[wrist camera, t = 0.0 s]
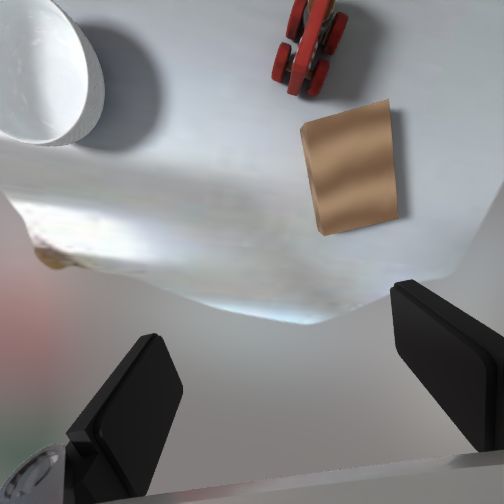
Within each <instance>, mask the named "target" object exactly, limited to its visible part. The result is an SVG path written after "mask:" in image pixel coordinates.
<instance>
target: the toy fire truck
mask: <svg viewBox="0 0 504 504" xmlns="http://www.w3.org/2000/svg"><path fill="white" fill-rule="evenodd" d="M334 7H335V0H309V3H308V0H295V2H294V5H293V8H292V12H291V15H290V19H289V23H288V27H287V31H286V37H287V38H289V39H291V40H296V39H297V37H298V35H299V32H300V29H301V27H303V28H305V30H304V33H303V36H302V37H301V40H300V43H299V45H298V48H297V52H296V55H295V58H294V61H293V63H292V62H289V58H290V54H291V45H289V44H287V43H283V42H282V43H281V44H280V46H279V49H278V52H277V55H276V59H275V62H274V66H273V71H272V79H273V80H274V81H277V82H281V81H282V80H283V77H284V74H285V71H286V70H287V71H289V72H291V75H290V81H289V86H288V90H287V93H288V94H291V95H294V96H297V95H298V94H299V91H300V88H301V85H302V82H303V80H304V78H307V79H309V80H310V83H309V86H308V89H307V93H308V94H309V95H312V96H317V95H318V93H319V91H320V89H321V87H322V85H323V82H324V80H325V77H326V74H327V72H328V69H329V65H330V62H329V61H328V60H326V59H323V58H320V59H319V60H318V62H317V64H316V66H315V69H314V71H312V70H310V67H311V64H312V61H313V58H314V55H315V52H316V49H317V46H318V43H321V44H323V45H324V47H323V53H325V54H327V55H330V56H331V55H333V54H334V52H335V50H336V48H337V46H338V43H339V41H340V39H341V37H342V34H343V31H344V29H345V26H346V23H347V20H348V16H347V15H346V14H344V13H341V12H338V13H337V14H336V16H335V18H334V19H333V14H334V11H333V10H334Z"/></svg>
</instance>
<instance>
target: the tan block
mask: <svg viewBox="0 0 504 504" xmlns="http://www.w3.org/2000/svg"><path fill="white" fill-rule="evenodd" d="M300 132H301V138H302V144H303V149H304V155H305V160H306V166H307V172H308V177H309V183H310V188H311V194H312V199H313V205H314V211H315V216H316V222H317V227H318V231H319V232H320V233H321V234H323V235H324V236H326V235H330V234H335V233H339V232H343V231H347V230H352V229H356V228H360V227H364V226H369V225H373V224H377V223H381V222H385V221H390V220H394V219H398V206H397V194H396V181H395V169H394V156H393V144H392V132H391V119H390V107H389V99H387V100H384V101H380V102H377V103H373V104H370V105H366V106H363V107H359V108H356V109H352V110H349V111H345V112H342V113H338V114H335V115H331V116H328V117H324V118H321V119H317V120H314V121H310V122H307V123H305V124H304V125H303V126H302V128H301V129H300Z"/></svg>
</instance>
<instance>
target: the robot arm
mask: <svg viewBox="0 0 504 504" xmlns="http://www.w3.org/2000/svg"><path fill="white" fill-rule="evenodd" d="M390 296H391V305H392V316H393V326H394V336H395V346H396V349H397V352H398V354H399V355H400V357H401V358H402V359H403V361H404V362H405V363H406V364H407V365H408V367H409V368H410V369H411V370H412V372H413V373H414V374H415V375H416V377H417V378H418V379H419V380H420V382H421V383H422V384H423V385H424V387H425V388H426V389H427V390H428V391H429V393H430V394H431V395H432V396H433V397H434V399H435V400H436V401H437V403H438V404H439V405H440V406H441V408H442V409H443V410H444V411H445V412H446V414H447V415H448V416H449V417H450V419H451V420H452V421H453V422H454V424H455V425H456V426H457V427H458V429H459V430H460V431H461V432H462V434H463V435H464V436H465V437H466V439H467V440H468V441H469V442H470V443H471V445H472V446H473V447H474V448H475V449H476V450H477V451H478V452H479V453H470V454H461V455H452V456H442V457H434V458H427V459H418V460H410V461H403V462H395V463H388V464H380V465H372V466H363V467H356V468H348V469H340V470H332V471H325V472H317V473H310V474H302V475H295V476H287V477H280V478H272V479H265V480H258V481H250V482H243V483H236V484H229V485H221V486H214V487H206V488H199V489H192V490H185V491H178V492H171V493H164V494H157V495H150V496H145V495H146V493H147V491H148V489H149V486H150V483H151V480H152V477H153V475H154V472H155V469H156V467H157V464H158V461H159V458H160V456H161V453H162V450H163V447H164V444H165V442H166V439H167V436H168V433H169V430H170V428H171V425H172V422H173V420H174V417H175V414H176V411H177V409H178V406H179V403H180V400H181V398H182V395H183V385H182V383H181V380H180V378H179V376H178V373H177V371H176V368H175V366H174V364H173V361H172V359H171V357H170V354H169V352H168V350H167V347H166V345H165V343H164V340H163V338H162V337H161V336H158V335H157V334H156V333H153V334H148V335H144V336H141V337H140V338H139V339H138V340H137V342H136V343H135V344H134V346H133V347H132V348H131V350H130V351H129V352H128V353H127V355H126V356H125V357H124V358H123V360H122V361H121V362H120V364H119V365H118V366H117V368H116V369H115V370H114V372H113V373H112V374H111V375H110V377H109V378H108V379H107V380H106V382H105V383H104V384H103V386H102V387H101V388H100V390H99V391H98V392H97V393H96V395H95V396H94V397H93V399H92V400H91V401H90V402H89V404H88V405H87V406H86V408H85V409H84V410H83V411H82V413H81V414H80V415H79V417H78V418H77V419H76V421H75V422H74V423H73V424H72V426H71V427H70V428H69V430H68V431H67V432H66V434H67V436H68V438H69V439H70V442H69V443H68V444H67V446H66V447H65V445H63V444H61V443H54V444H51V445H49V446H46V447H44V448H42V449H41V450H39V451H37V452H36V453H34V454H33V455H32V456H30V457H29V458H28V459H26V460H25V461H24V462H23V463H22V464H21V465H20V466H19V467H18V468H16V470H15V471H14V472H13V473H12V474H11V475H10V476H9V477H8V478H7V480H6V481H5V483H4V484H3V486H2V487H1V488H0V504H504V337H503V336H501V335H500V334H498V333H497V332H495V331H493V330H492V329H490V328H489V327H487V326H486V325H484V324H482V323H481V322H479V321H478V320H476V319H474V318H473V317H471V316H469V315H468V314H467V313H465V312H463V311H462V310H460V309H459V308H457V307H455V306H454V305H452V304H451V303H449V302H448V301H446V300H444V299H443V298H441V297H440V296H438V295H437V294H435V293H433V292H432V291H430V290H429V289H427V288H426V287H424V286H422V285H421V284H419V283H418V282H416V281H414V280H412V279H411V280H406V281H401V282H396V283H395V284H394V287H391V289H390Z"/></svg>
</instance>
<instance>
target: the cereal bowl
mask: <svg viewBox="0 0 504 504" xmlns="http://www.w3.org/2000/svg"><path fill="white" fill-rule="evenodd" d="M104 87H105V85H104V77H103V73H102V68H101V66H100V62H99V60H98V58H97V55H96V53H95V51H94V49H93V47H92V45H91V44H90V42H89V41H88V39H87V37H86V36H85V35H84V33H83V31H82V30H81V29H80V28H79V26H78V25H77V24H76V23H75V22H74V21H73V20H72V18H71V17H70V16H68V15H67V13H66V12H64V11H63V10H62V9H61V8H60V7H59V6H58V5H57V4H56V3H55V2H54V1H53V0H0V132H1V133H3V134H4V135H6V136H8V137H10V138H12V139H14V140H17V141H20V142H23V143H27V144H33V145H40V146H63V145H68V144H71V143H74V142H77V141H79V140H80V139H82V138H84V137H85V136H86V135H88V134H89V133H90V132H91V131H92V129H93V128H94V127H95V126H96V124H97V122H98V121H99V118H100V116H101V113H102V110H103V106H104V99H105V88H104Z"/></svg>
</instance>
